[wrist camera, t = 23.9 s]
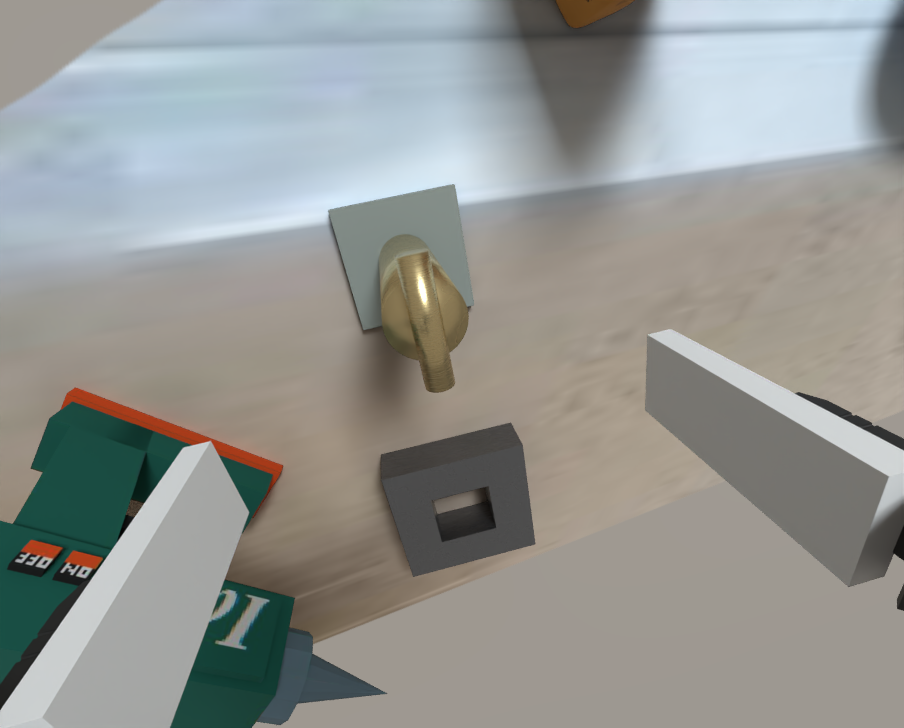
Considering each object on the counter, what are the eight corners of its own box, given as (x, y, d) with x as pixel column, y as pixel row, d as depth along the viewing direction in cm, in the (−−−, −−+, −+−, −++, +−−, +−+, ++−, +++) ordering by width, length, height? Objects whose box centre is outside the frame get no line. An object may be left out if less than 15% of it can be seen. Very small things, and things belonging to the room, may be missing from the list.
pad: (363, 326, 37) (363, 330, 36) (329, 209, 33) (328, 210, 32) (472, 301, 38) (474, 305, 37) (452, 184, 34) (454, 184, 33)
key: (390, 307, 36) (400, 401, 21) (368, 223, 33) (363, 267, 18) (439, 296, 36) (483, 381, 22) (423, 212, 33) (461, 246, 19)
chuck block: (410, 547, 49) (413, 576, 46) (381, 454, 43) (381, 480, 40) (524, 517, 50) (535, 544, 47) (510, 422, 44) (522, 444, 41)
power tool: (401, 505, 47) (416, 714, 29) (370, 547, 49) (365, 768, 31) (77, 382, 35) (-232, 599, 17) (53, 443, 37) (-248, 696, 19)
